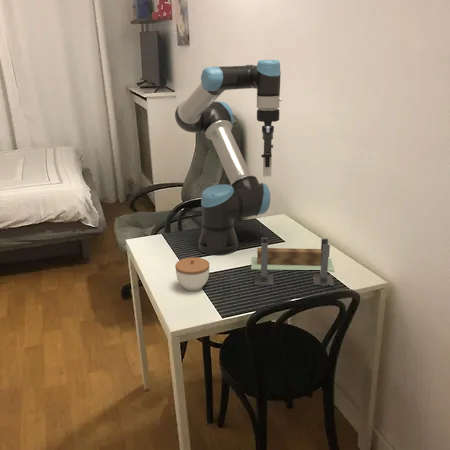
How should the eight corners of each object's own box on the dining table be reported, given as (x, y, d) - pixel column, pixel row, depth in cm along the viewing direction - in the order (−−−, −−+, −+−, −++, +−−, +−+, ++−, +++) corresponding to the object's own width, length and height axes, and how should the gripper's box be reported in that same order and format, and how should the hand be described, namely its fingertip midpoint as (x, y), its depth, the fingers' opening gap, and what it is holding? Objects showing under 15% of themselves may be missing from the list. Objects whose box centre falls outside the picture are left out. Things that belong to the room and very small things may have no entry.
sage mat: (251, 269, 169) (251, 268, 169) (252, 257, 178) (251, 256, 178) (334, 271, 166) (334, 270, 166) (330, 259, 176) (330, 258, 176)
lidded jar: (179, 296, 152) (178, 268, 149) (173, 281, 162) (172, 254, 158) (213, 291, 154) (212, 264, 151) (205, 276, 164) (204, 250, 161)
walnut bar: (257, 264, 172) (257, 251, 170) (257, 260, 174) (257, 247, 173) (327, 265, 170) (328, 252, 168) (326, 262, 172) (327, 249, 171)
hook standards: (254, 284, 158) (254, 244, 153) (255, 276, 164) (255, 237, 159) (333, 286, 156) (336, 245, 151) (331, 278, 162) (334, 238, 157)
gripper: (280, 113, 152) (278, 180, 160) (278, 104, 176) (277, 162, 183) (255, 113, 153) (255, 180, 160) (257, 104, 176) (257, 162, 184)
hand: (267, 171), depth 172 cm, fingers open, 13 cm apart
